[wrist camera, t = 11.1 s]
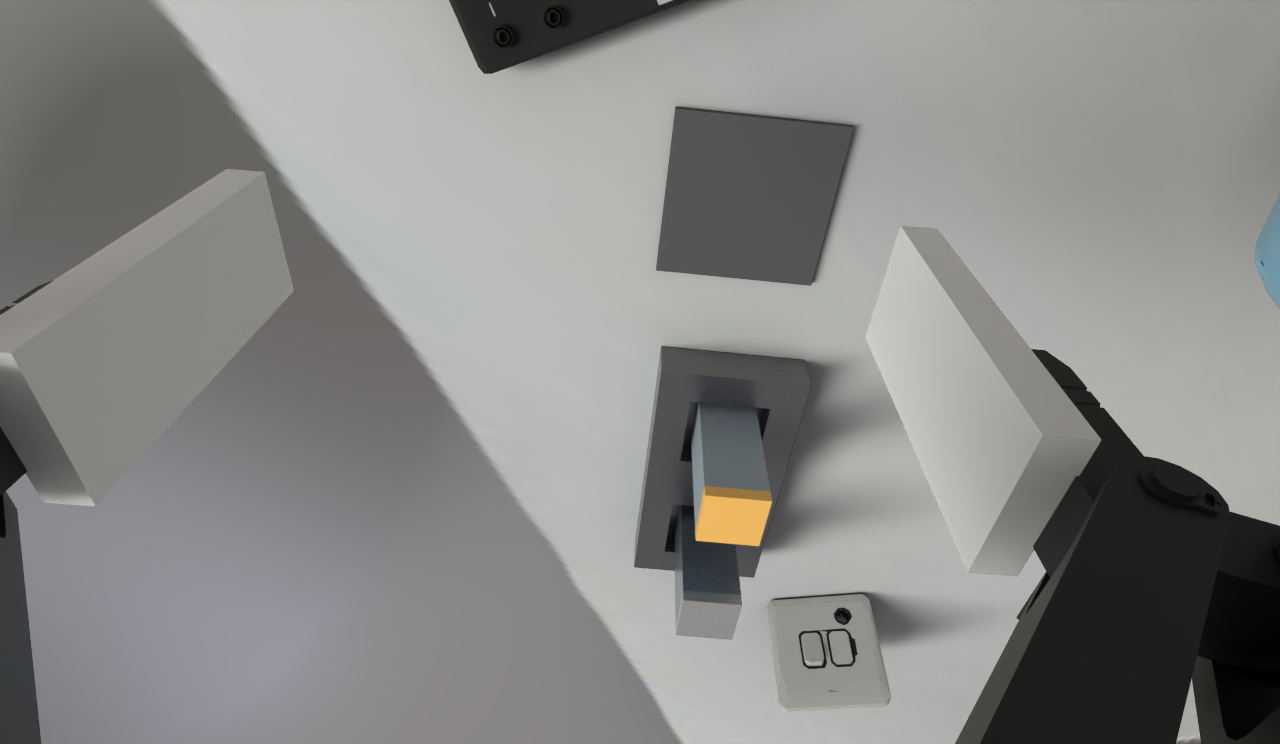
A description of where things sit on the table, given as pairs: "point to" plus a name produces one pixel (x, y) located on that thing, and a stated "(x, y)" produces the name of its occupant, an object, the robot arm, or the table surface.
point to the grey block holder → (668, 478)
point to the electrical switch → (826, 653)
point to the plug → (729, 475)
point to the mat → (749, 195)
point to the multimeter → (540, 25)
